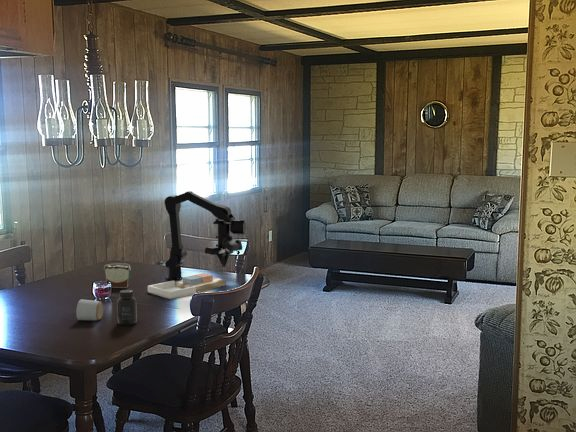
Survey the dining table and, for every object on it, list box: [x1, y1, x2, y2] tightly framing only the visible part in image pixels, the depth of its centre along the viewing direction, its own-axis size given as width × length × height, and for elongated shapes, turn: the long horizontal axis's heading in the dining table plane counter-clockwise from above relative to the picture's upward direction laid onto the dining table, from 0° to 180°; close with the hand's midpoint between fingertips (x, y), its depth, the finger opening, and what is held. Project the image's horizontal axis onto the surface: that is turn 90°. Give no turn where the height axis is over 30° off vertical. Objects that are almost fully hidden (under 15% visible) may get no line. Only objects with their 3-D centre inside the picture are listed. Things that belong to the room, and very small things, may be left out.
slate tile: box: [181, 274, 202, 285], centre depth 287 cm, size 6×6×2 cm
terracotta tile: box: [194, 272, 214, 283], centre depth 292 cm, size 6×6×2 cm
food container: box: [103, 262, 132, 289], centre depth 291 cm, size 12×6×10 cm, turn 84°
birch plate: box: [175, 276, 227, 293], centre depth 291 cm, size 14×18×2 cm
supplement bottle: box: [116, 289, 138, 326], centre depth 235 cm, size 7×7×12 cm
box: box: [147, 280, 197, 300], centre depth 279 cm, size 16×14×3 cm
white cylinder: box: [75, 298, 104, 322], centre depth 241 cm, size 11×8×8 cm
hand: (223, 266), depth 300 cm, fingers closed
